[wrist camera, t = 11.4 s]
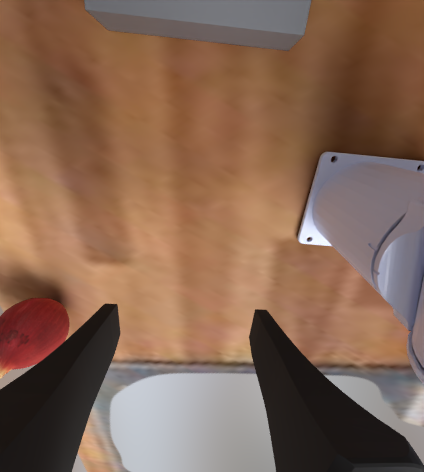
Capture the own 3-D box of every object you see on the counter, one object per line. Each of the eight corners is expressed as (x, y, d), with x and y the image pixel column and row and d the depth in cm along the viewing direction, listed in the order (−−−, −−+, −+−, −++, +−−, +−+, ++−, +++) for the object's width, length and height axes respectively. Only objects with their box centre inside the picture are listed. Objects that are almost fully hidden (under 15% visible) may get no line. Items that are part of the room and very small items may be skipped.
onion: (17, 293, 25) (-64, 363, 18) (58, 273, 24) (-11, 339, 16) (55, 329, 27) (-2, 403, 20) (94, 312, 26) (49, 385, 19)
